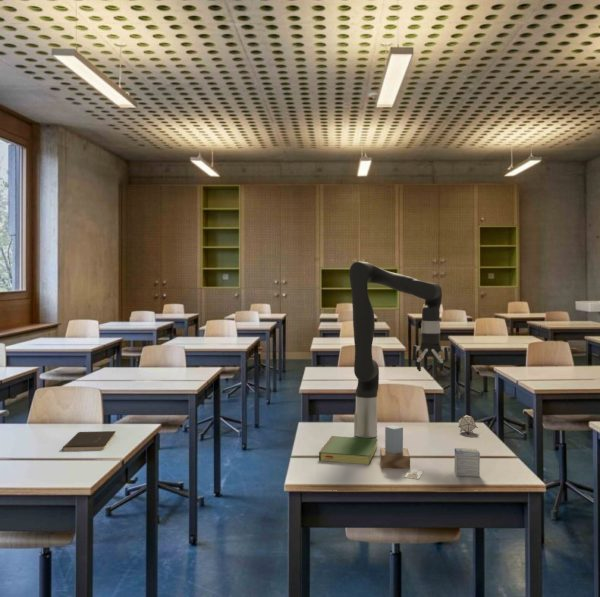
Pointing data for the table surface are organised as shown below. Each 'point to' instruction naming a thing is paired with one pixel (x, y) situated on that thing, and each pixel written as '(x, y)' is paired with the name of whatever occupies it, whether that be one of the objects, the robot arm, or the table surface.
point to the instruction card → (413, 474)
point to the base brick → (395, 459)
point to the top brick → (394, 439)
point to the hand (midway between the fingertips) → (430, 371)
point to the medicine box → (467, 462)
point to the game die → (467, 423)
